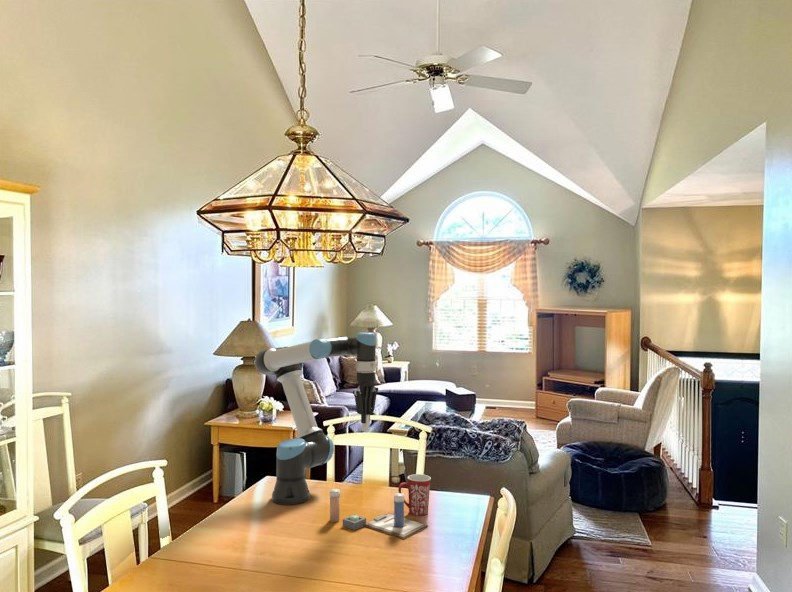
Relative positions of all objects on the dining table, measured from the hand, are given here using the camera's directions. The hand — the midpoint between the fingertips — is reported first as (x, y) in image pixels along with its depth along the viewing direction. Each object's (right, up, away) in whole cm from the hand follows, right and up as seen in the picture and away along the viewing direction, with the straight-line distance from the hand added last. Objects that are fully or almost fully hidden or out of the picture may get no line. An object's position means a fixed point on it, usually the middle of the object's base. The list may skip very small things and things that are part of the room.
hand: (365, 430), depth 233 cm
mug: (+19, -30, -8) cm, 36 cm away
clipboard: (+12, -30, -21) cm, 38 cm away
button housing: (-3, -29, -21) cm, 36 cm away
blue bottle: (+13, -28, -24) cm, 39 cm away
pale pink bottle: (-11, -29, -16) cm, 35 cm away
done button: (-3, -29, -21) cm, 36 cm away
